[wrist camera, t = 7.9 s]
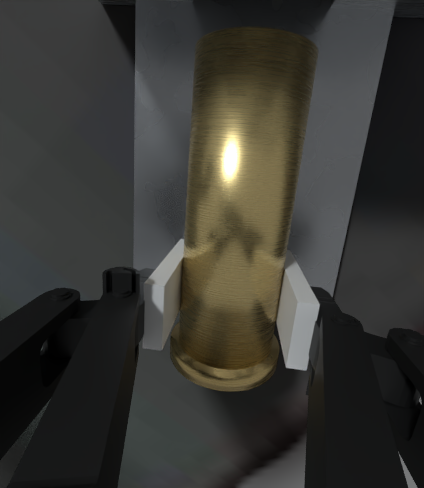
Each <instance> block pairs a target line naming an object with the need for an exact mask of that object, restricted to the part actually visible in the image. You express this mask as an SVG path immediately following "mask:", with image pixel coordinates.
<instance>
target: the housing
mask: <svg viewBox="0 0 424 488" xmlns="http://www.w3.org/2000/svg"><path fill="white" fill-rule="evenodd" d="M99 2H100V3H101V4H114V5H136V21H135V146H134V269H137V270H138V271H140V270H142V269H145V268H150V269H156V268H157V267H158V266H159V265H160V263H161V262H162V261H163V260H164V259H165V257H166V256H167V255H168V254H169V253H170V251H171V250H172V249H173V248H174V246H175V245H176V244H177V243H178V242H179V240H180V239H184V234H185V217H186V200H187V182H188V165H189V147H190V130H191V113H192V95H193V78H194V60H195V45H196V43H197V41H198V40H199V39H200V38H201V37H203V36H204V35H206V34H208V33H211V32H214V31H217V30H221V29H226V28H233V27H248V26H250V27H269V28H276V29H281V30H286V31H290V32H293V33H296V34H299V35H302V36H304V37H306V38H308V39H309V40H311V41H312V42H313V43H314V44H315V45H316V46H317V48H318V51H319V52H318V59H317V65H316V72H315V78H314V84H313V90H312V97H311V103H310V109H309V115H308V122H307V128H306V134H305V140H304V147H303V153H302V159H301V165H300V172H299V178H298V184H297V190H296V197H295V203H294V209H293V215H292V222H291V228H290V234H289V240H288V247H287V250H290V251H291V253H292V254H293V256H294V258H295V260H296V262H297V264H298V265H299V267H300V269H301V271H302V273H303V275H304V276H305V278H306V280H307V282H308V284H309V286H313V287H321V288H323V289H324V290H326V291H327V292H329V293H330V295H331V296H332V297H333V293H334V288H335V283H336V279H337V274H338V269H339V265H340V260H341V255H342V251H343V246H344V241H345V237H346V232H347V227H348V223H349V218H350V213H351V209H352V204H353V200H354V195H355V190H356V186H357V181H358V176H359V172H360V167H361V162H362V158H363V153H364V148H365V144H366V139H367V134H368V130H369V125H370V120H371V116H372V111H373V107H374V102H375V97H376V93H377V88H378V83H379V79H380V74H381V69H382V65H383V60H384V55H385V51H386V46H387V41H388V37H389V32H390V27H391V23H392V18H393V17H405V18H424V0H99Z"/></svg>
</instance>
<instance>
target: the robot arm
mask: <svg viewBox="0 0 424 488" xmlns="http://www.w3.org/2000/svg"><path fill="white" fill-rule="evenodd" d="M183 252H184V239H180V240H179V242H178V243H177V244H176V245H175V246H174V248H173V249H172V250H171V251H170V253H169V254H168V255H167V256H166V257H165V259H164V260H163V261H162V262H161V263H160V265H159V266H158V267H157V268H156V269H150V268H145V269H142V270H140V271H138V270H137V269H134V268H131V267H115V268H110V269H107V270H105V271H104V272H103V295H102V297H101V299H100V300H91V301H80V292H78V291H77V290H74V289H68V288H60V289H59V288H57V289H54V290H51V291H48V292H46V293H43V294H42V295H40V296H39V297H37V298H35V299H34V300H32V301H31V302H29V303H28V304H26V305H25V306H23V307H22V308H20V309H19V310H17V311H15V312H14V313H12V314H11V315H9V316H8V317H6V318H5V319H3V320H2V321H0V460H1V459H2V457H3V456H4V455H5V454H6V452H7V451H8V450H9V449H10V448H11V446H12V445H13V444H14V443H15V441H16V440H17V439H18V438H19V437H20V435H21V434H22V433H23V432H24V430H25V429H26V428H27V427H28V426H29V424H30V423H31V422H32V421H33V419H34V418H35V417H36V416H37V414H38V413H39V412H40V411H41V410H42V408H43V407H44V406H45V405H46V403H47V402H48V401H49V400H50V399H51V400H50V402H49V404H48V406H47V408H46V410H45V412H44V414H43V416H42V418H41V420H40V422H39V424H38V426H37V428H36V430H35V432H34V434H33V436H32V439H31V441H30V443H29V445H28V447H27V449H26V451H25V453H24V455H23V457H22V459H21V461H20V463H19V465H18V467H17V469H16V471H15V473H14V475H13V477H12V479H11V481H10V483H9V485H8V486H7V488H117V486H118V480H119V474H120V467H121V461H122V455H123V449H124V442H125V436H126V430H127V424H128V417H129V411H130V405H131V399H132V392H133V386H134V380H135V374H136V367H137V361H138V355H139V342H140V340H141V338H142V337H143V348H146V349H153V350H160V351H162V349H163V347H164V344H165V342H166V340H167V338H168V335H169V333H170V331H171V328H172V326H173V324H174V321H175V319H176V317H177V314H178V312H179V310H180V305H181V287H182V270H183ZM276 323H277V328H278V332H279V337H280V342H281V347H282V351H283V356H284V361H285V366H286V368H292V369H299V370H307V365H308V360H309V358H310V361H311V364H312V367H311V372H310V376H309V381H308V386H307V391H306V395H309V397H308V420H307V442H306V465H305V488H408V485H407V482H406V478H405V475H404V471H403V468H402V464H401V461H400V457H399V454H400V455H401V457H402V459H403V461H404V463H405V465H406V466H407V468H408V470H409V472H410V474H411V476H412V478H413V480H414V482H415V483H416V485H417V487H418V488H424V336H423V335H421V334H420V333H418V332H416V331H413V330H410V329H402V328H393V329H390V330H389V333H388V336H387V339H386V338H383V337H379V336H376V335H372V334H369V333H366V332H364V330H363V326H362V324H361V323H360V321H358V320H357V319H356V318H354V317H352V316H350V315H348V314H345V313H342V311H341V310H340V308H339V307H338V305H337V304H336V302H335V301H334V299H333V298H332V296H331V295H330V293H329V292H327V291H326V290H324V289H323V288H321V287H313V286H309V284H308V282H307V280H306V278H305V276H304V275H303V273H302V271H301V269H300V267H299V265H298V264H297V262H296V260H295V258H294V256H293V254H292V253H291V251H290V250H287V253H286V259H285V265H284V271H283V278H282V284H281V290H280V297H279V303H278V309H277V315H276ZM42 345H43V350H42V351H41V348H42ZM40 351H41V352H40ZM420 396H421V400H422V405H421V404H420V402H419V398H420ZM51 397H52V398H51ZM398 452H399V453H398Z"/></svg>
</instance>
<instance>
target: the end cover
mask: <svg viewBox="0 0 424 488" xmlns="http://www.w3.org/2000/svg"><path fill="white" fill-rule="evenodd" d="M318 52H319V51H318V48H317V46H316V45H315V44H314V43H313V42H312V41H311V40H309V39H308V38H306V37H304V36H302V35H299V34H296V33H293V32H290V31H286V30H281V29H276V28H269V27H250V26H248V27H233V28H226V29H221V30H217V31H214V32H211V33H208V34H206V35H204V36H203V37H201V38H200V39H199V40H198V41H197V43H196V45H195V60H194V78H193V95H192V113H191V130H190V147H189V165H188V182H187V200H186V217H185V234H184V252H183V270H182V287H181V305H180V321H179V322H178V323H177V324H176V326H175V327H174V328H173V330H172V333H171V342H170V356H171V360H172V362H173V364H174V366H175V367H176V369H177V370H178V371H179V372H180V373H181V374H182V375H183V376H184V377H186V378H187V379H188V380H190V381H192V382H194V383H196V384H198V385H200V386H203V387H206V388H209V389H213V390H218V391H244V390H249V389H252V388H255V387H258V386H260V385H262V384H264V383H265V382H266V381H268V380H269V379H270V378H271V377H272V375H273V374H274V372H275V370H276V367H277V361H278V356H279V343H278V340H277V338H276V336H275V335H274V328H275V322H276V315H277V309H278V303H279V297H280V290H281V284H282V278H283V271H284V265H285V259H286V253H287V247H288V240H289V234H290V228H291V222H292V215H293V209H294V203H295V197H296V190H297V184H298V178H299V172H300V165H301V159H302V153H303V147H304V140H305V134H306V128H307V122H308V115H309V109H310V103H311V97H312V90H313V84H314V78H315V72H316V65H317V59H318Z"/></svg>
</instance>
